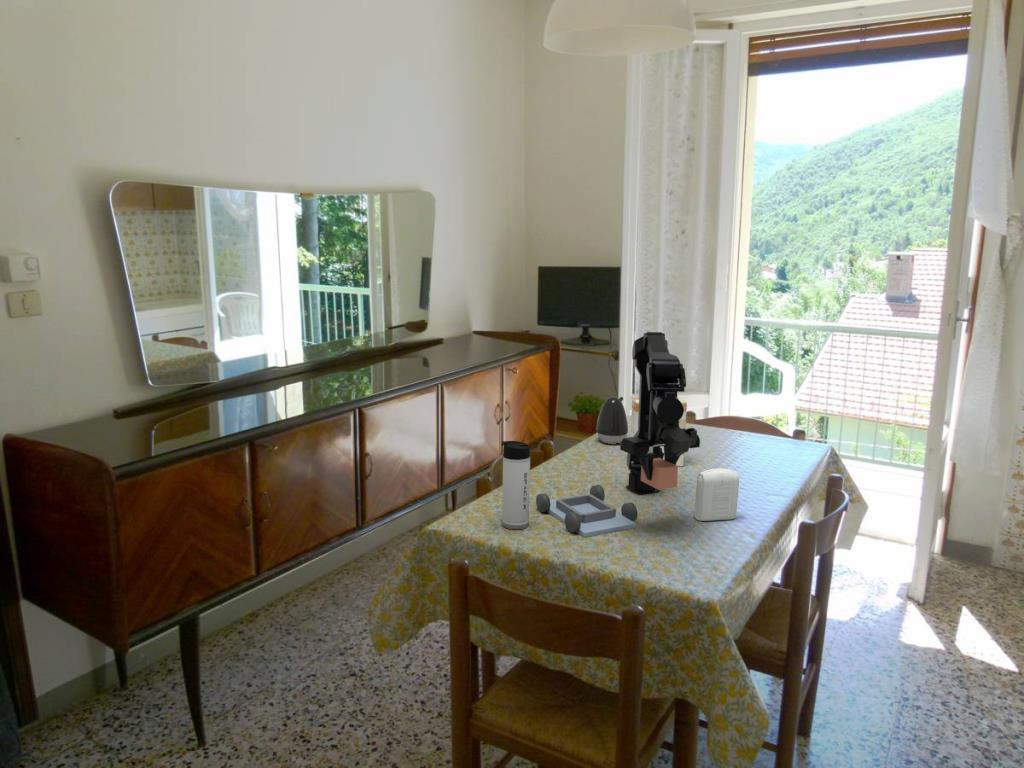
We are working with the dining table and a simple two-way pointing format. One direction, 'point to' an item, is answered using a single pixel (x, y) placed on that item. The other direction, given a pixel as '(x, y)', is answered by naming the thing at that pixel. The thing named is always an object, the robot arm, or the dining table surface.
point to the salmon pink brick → (661, 474)
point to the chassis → (588, 513)
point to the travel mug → (515, 485)
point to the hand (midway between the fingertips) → (658, 478)
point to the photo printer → (716, 495)
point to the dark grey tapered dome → (612, 421)
